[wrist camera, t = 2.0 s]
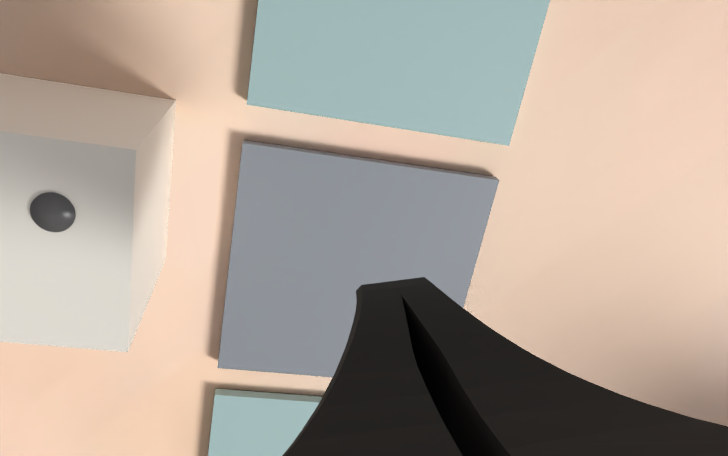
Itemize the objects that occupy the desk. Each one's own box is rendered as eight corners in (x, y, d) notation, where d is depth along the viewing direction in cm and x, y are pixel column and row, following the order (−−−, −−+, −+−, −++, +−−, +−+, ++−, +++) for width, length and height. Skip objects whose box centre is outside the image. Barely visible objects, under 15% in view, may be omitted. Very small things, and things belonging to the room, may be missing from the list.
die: (176, 99, 15) (135, 150, 11) (166, 257, 17) (127, 353, 13) (-18, 69, 15) (-139, 112, 10) (-8, 239, 16) (-109, 333, 12)
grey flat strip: (727, -653, 11) (738, -668, 11) (352, 688, 26) (353, 695, 25) (349, -816, 10) (351, -837, 10) (182, 690, 24) (180, 698, 24)
